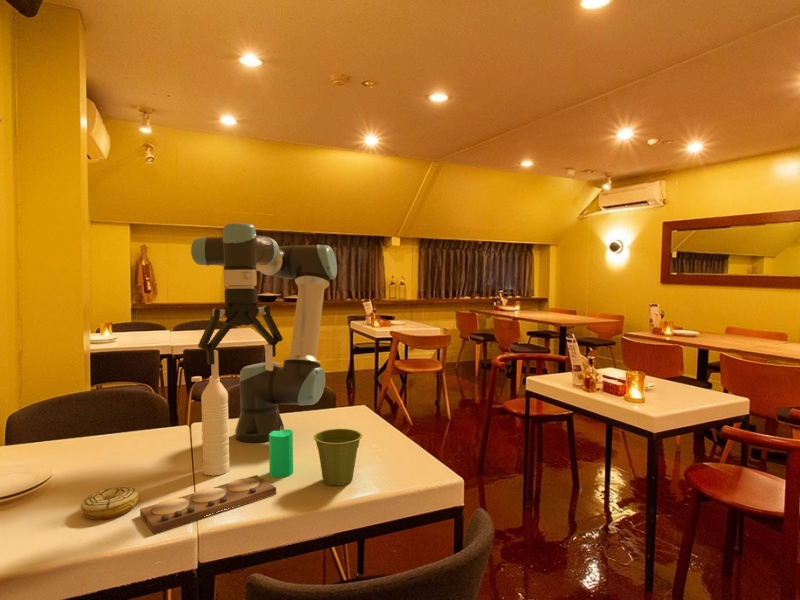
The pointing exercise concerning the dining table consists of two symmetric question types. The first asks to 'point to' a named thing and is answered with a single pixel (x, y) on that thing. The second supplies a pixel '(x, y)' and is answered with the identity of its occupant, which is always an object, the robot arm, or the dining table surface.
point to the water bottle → (214, 427)
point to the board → (205, 503)
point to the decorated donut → (109, 503)
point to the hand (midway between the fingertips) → (243, 373)
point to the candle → (281, 453)
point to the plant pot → (337, 454)
